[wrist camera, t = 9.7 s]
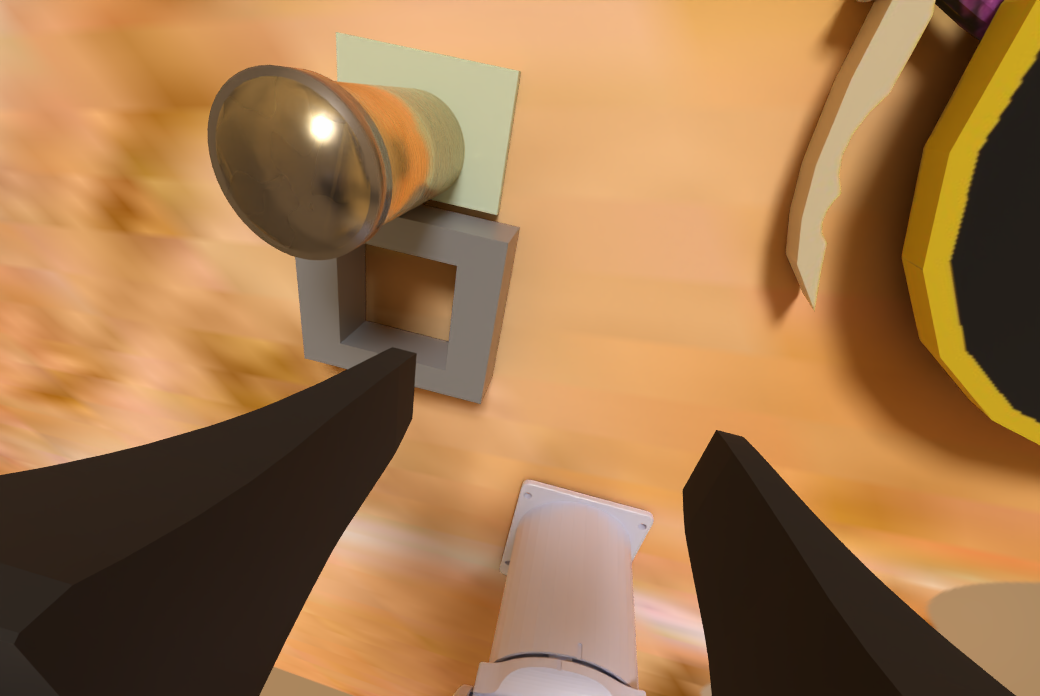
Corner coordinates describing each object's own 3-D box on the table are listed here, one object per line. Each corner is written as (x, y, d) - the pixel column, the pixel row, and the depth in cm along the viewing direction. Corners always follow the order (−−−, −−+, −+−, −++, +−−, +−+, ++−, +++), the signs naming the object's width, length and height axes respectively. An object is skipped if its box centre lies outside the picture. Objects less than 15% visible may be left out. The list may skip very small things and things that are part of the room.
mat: (498, 212, 18) (496, 215, 18) (345, 177, 19) (340, 178, 18) (520, 71, 16) (519, 70, 15) (341, 33, 16) (335, 31, 16)
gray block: (492, 375, 23) (480, 404, 21) (332, 334, 23) (304, 358, 21) (519, 227, 19) (508, 243, 16) (324, 181, 19) (289, 191, 17)
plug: (463, 212, 18) (378, 276, 11) (366, 190, 19) (225, 240, 12) (476, 94, 16) (378, 86, 9) (364, 71, 16) (189, 46, 9)
